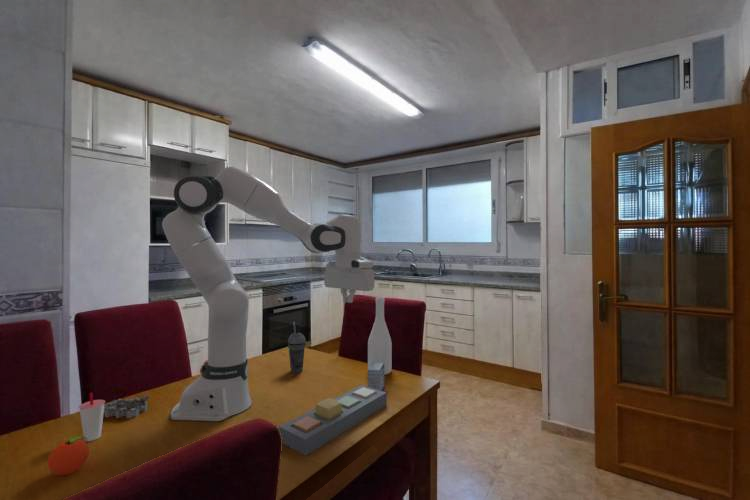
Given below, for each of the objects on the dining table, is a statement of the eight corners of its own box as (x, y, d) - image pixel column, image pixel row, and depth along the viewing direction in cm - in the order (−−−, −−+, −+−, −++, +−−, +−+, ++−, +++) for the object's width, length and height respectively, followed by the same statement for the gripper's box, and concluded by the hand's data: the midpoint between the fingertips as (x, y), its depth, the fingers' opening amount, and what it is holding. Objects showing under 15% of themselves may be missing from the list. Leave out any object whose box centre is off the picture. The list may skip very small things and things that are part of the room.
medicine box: (380, 396, 119) (380, 370, 118) (367, 394, 119) (367, 369, 119) (384, 386, 126) (384, 362, 126) (372, 385, 127) (372, 361, 127)
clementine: (74, 458, 83) (73, 429, 83) (101, 460, 82) (101, 430, 82) (38, 481, 75) (38, 448, 75) (68, 483, 74) (68, 450, 74)
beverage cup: (303, 374, 138) (303, 323, 138) (285, 374, 138) (285, 323, 138) (307, 368, 145) (307, 319, 145) (290, 367, 145) (290, 319, 145)
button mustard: (328, 422, 94) (328, 409, 94) (315, 416, 97) (315, 404, 97) (341, 415, 98) (341, 402, 98) (328, 409, 101) (328, 397, 101)
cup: (75, 445, 88) (75, 398, 88) (83, 435, 93) (83, 390, 93) (101, 440, 91) (101, 394, 90) (108, 430, 96) (107, 386, 95)
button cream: (365, 407, 107) (365, 396, 107) (353, 403, 110) (353, 392, 110) (375, 402, 111) (375, 391, 111) (363, 397, 114) (363, 387, 114)
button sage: (348, 418, 101) (348, 406, 101) (335, 413, 104) (335, 401, 104) (359, 411, 105) (359, 400, 105) (346, 407, 108) (346, 395, 108)
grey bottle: (364, 369, 144) (364, 296, 144) (385, 366, 147) (386, 295, 147) (372, 377, 135) (373, 299, 135) (395, 374, 139) (395, 298, 138)
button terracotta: (306, 443, 88) (306, 429, 88) (292, 436, 91) (292, 423, 91) (320, 434, 92) (320, 421, 92) (307, 428, 95) (307, 415, 95)
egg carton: (151, 409, 109) (151, 395, 109) (131, 420, 102) (131, 406, 102) (121, 406, 111) (121, 393, 111) (99, 417, 103) (99, 403, 103)
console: (305, 456, 85) (305, 439, 84) (278, 441, 91) (278, 426, 90) (386, 405, 112) (386, 392, 112) (362, 396, 118) (362, 384, 118)
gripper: (320, 261, 125) (320, 300, 125) (365, 263, 112) (365, 306, 113) (332, 260, 130) (332, 298, 130) (377, 262, 117) (377, 303, 118)
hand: (348, 302), depth 121 cm, fingers closed
